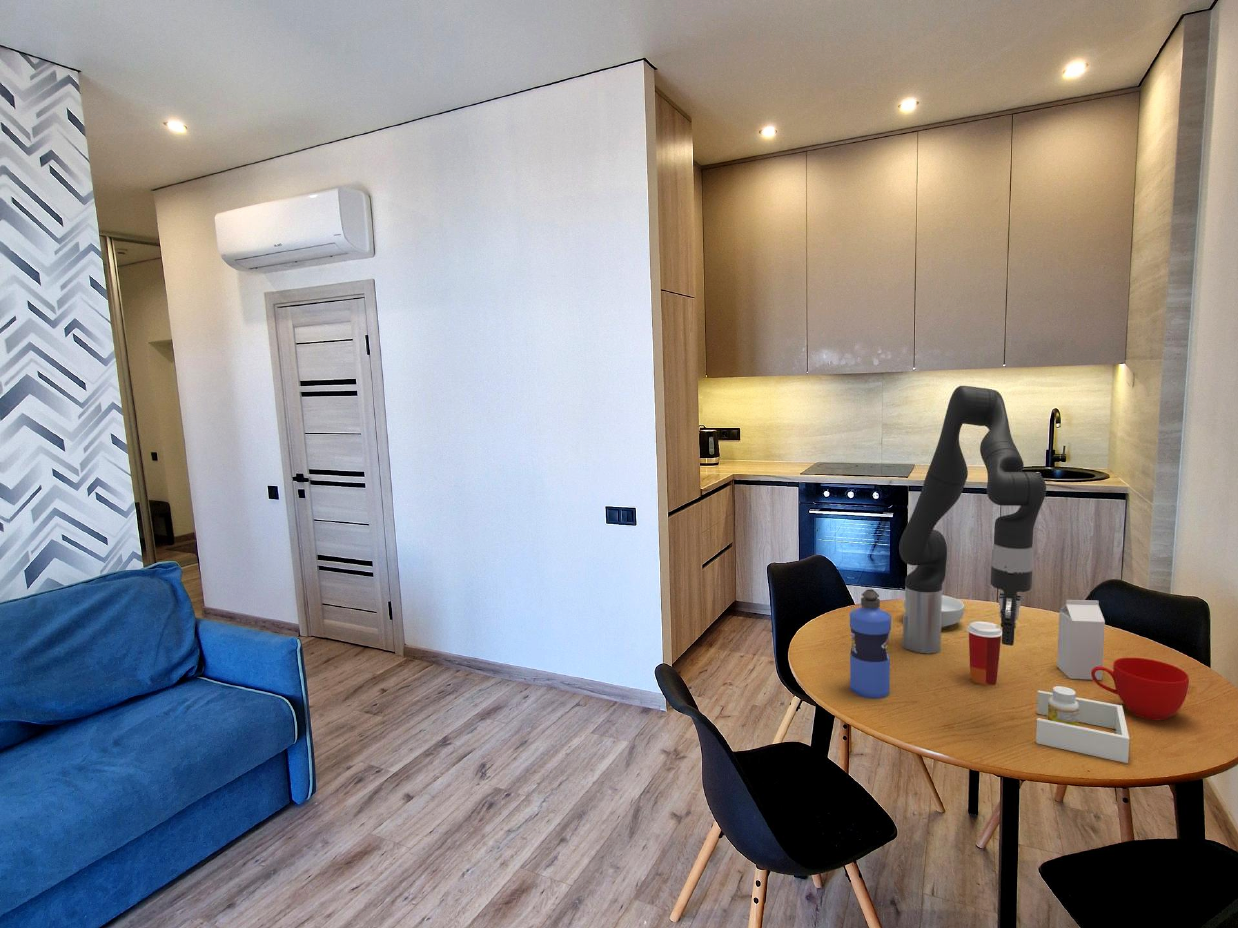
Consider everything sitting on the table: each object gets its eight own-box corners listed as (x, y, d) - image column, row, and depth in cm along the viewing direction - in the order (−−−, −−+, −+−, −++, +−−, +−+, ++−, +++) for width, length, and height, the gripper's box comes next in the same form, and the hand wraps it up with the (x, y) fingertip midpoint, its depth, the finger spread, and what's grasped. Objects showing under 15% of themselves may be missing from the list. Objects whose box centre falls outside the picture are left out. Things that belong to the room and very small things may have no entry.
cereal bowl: (960, 637, 191) (960, 613, 191) (898, 627, 200) (899, 605, 200) (966, 619, 206) (967, 597, 205) (908, 610, 215) (909, 589, 214)
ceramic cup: (1087, 690, 157) (1089, 650, 156) (1179, 706, 149) (1182, 663, 147) (1092, 715, 146) (1094, 671, 145) (1192, 733, 138) (1195, 687, 136)
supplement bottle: (1078, 743, 135) (1080, 698, 134) (1047, 736, 138) (1049, 693, 137) (1076, 730, 140) (1078, 687, 139) (1046, 725, 143) (1048, 682, 142)
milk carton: (1102, 680, 162) (1105, 605, 160) (1069, 679, 163) (1072, 604, 161) (1087, 668, 169) (1091, 596, 167) (1056, 667, 170) (1059, 595, 168)
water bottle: (848, 695, 159) (848, 594, 156) (850, 679, 168) (850, 583, 165) (890, 701, 156) (891, 598, 153) (890, 683, 164) (891, 586, 161)
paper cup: (997, 675, 167) (999, 621, 165) (1004, 689, 159) (1006, 633, 158) (962, 672, 169) (964, 619, 168) (967, 685, 162) (969, 630, 160)
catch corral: (1036, 742, 136) (1037, 719, 135) (1037, 711, 149) (1038, 690, 148) (1127, 763, 128) (1129, 738, 127) (1120, 728, 140) (1122, 705, 140)
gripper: (993, 555, 147) (990, 630, 150) (988, 571, 137) (984, 651, 139) (1033, 559, 143) (1029, 636, 146) (1031, 576, 132) (1026, 659, 135)
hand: (1007, 643), depth 142 cm, fingers closed
